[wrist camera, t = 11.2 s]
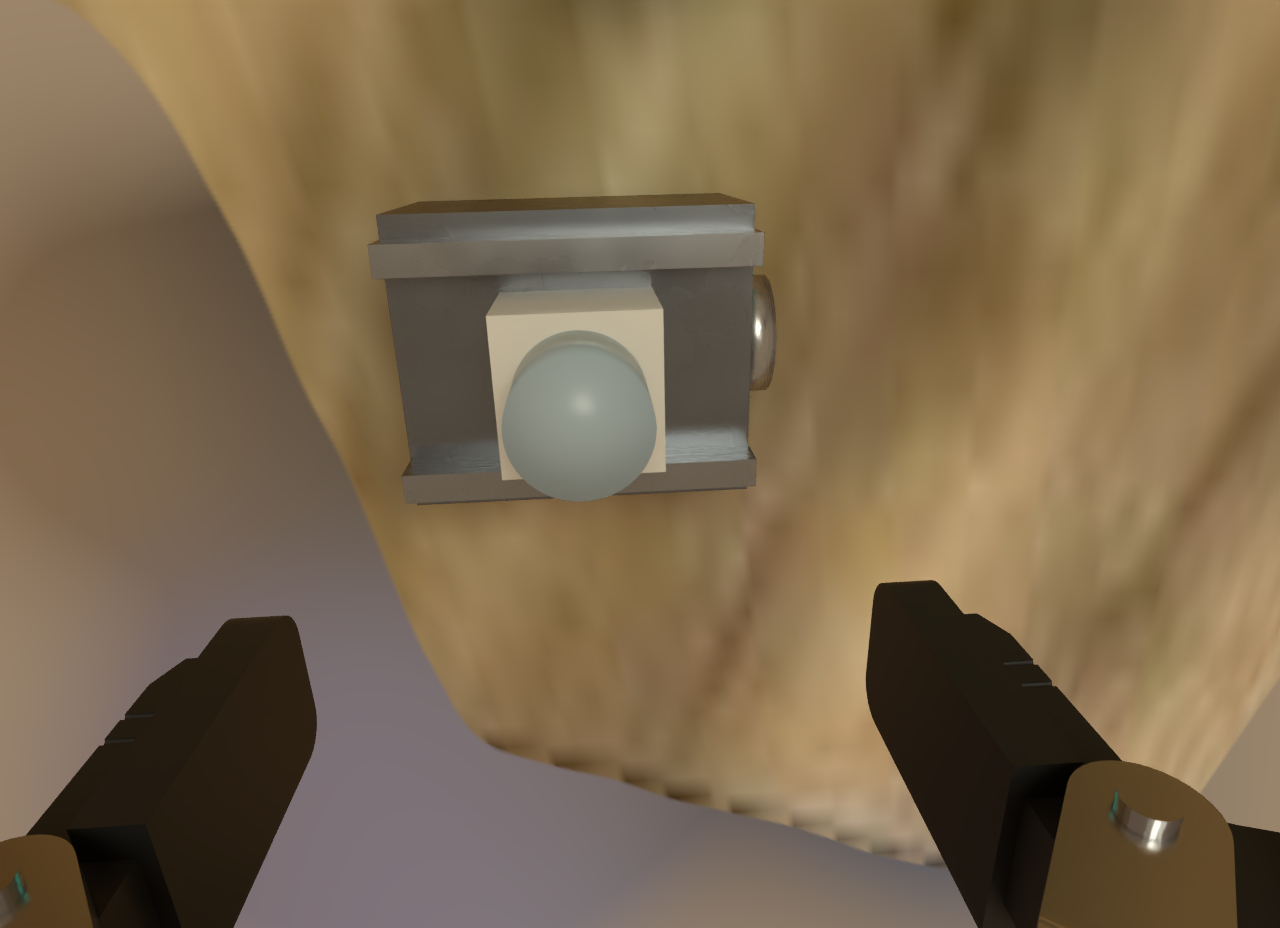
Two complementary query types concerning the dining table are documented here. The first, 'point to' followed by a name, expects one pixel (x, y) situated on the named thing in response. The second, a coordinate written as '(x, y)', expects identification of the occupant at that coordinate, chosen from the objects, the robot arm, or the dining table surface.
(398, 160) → the dining table surface
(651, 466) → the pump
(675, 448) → the motor housing
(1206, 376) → the dining table surface
